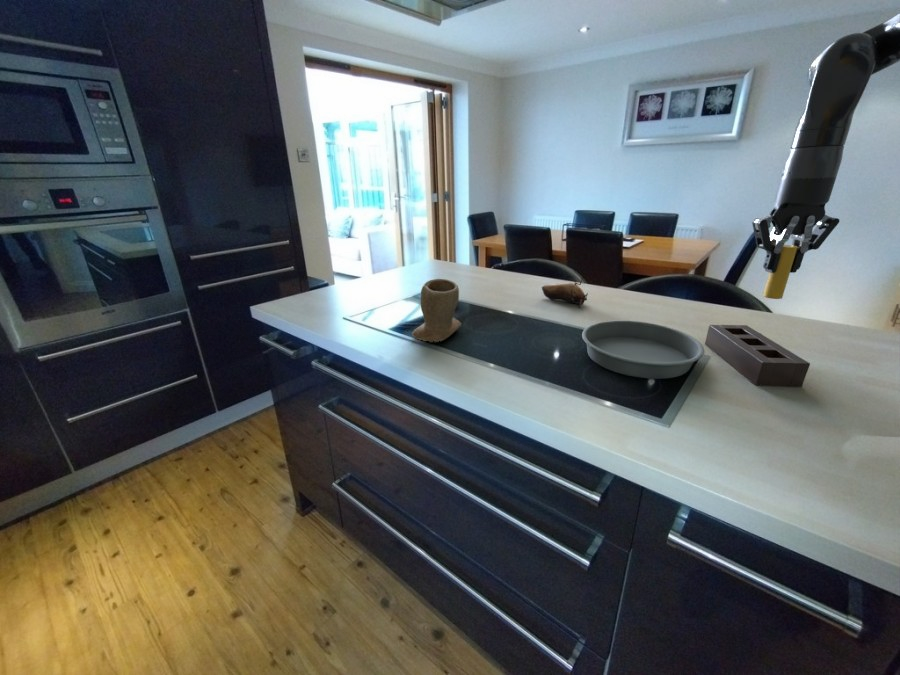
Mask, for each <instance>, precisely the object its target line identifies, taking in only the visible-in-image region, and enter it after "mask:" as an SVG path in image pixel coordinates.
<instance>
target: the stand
mask: <svg viewBox="0 0 900 675" xmlns="http://www.w3.org/2000/svg"><path fill="white" fill-rule="evenodd" d="M706 333H707V334H706V337H705V341H704V345H705V346H706V347H707V348H709V349H710V350H711V351H713V352H714V353H715V354H716V355H717V356H718V357H720V359H723V360H724V362H726V363H727V364H728V365H729V366H730V367H732V368H734V370H736V371H737V372H738V373H739V374H741V375H742V376H743V377H744V378H746V379H747V380H748V381H749V382H751V383H752V384H753V385H754V386H757V387H758V386H761V387H763V386H764V387H768V386H769V387H793V388H794V387H796V388H799V387H800V388H802V387H803V385H804V382H805V379H806V376H807V374H808V371H809V369H810V366H811V363H810V362H809V361H807V360H805V359H803V358H802V357H800V356H798V355H797V354H795V353H793V352H792V351H790V350H788V349H787V348H785V347H783V346H782V345H780V344H779V343H777V342H775V341H773V340H772V339H771V338H769V337H767V336H765V335H763V334H762V333H760V332H759V331H757V330H755V329H754V328H752V327H750V326H748V325H747V324H709V325H708V329H707V332H706Z"/></svg>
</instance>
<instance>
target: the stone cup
mask: <svg viewBox="0 0 900 675" xmlns="http://www.w3.org/2000/svg"><path fill="white" fill-rule="evenodd" d="M419 298H420V310H421V312H422V316H423V321H424V323H422V324H421V325H419V326H418V327H417V328H415V329H414V330H413V331H412V333H411V336H412V338H414V339H416V340H418V339H419V340H418V341H421V340H423V341H422V342H426V341H429V342H428V343H439V341H440V342H442V341H445V340H447V339H448V338H449V337H450V336H452V335H453V334H454V333H455V332H456V331H457V330H458V329H459V328H460V327H461V326H462V322H460V320H458V319H456V318H455V317H454V316H455V312H456V309H457V306H458V303H459V299H460V288H459V285H458V284H457V283H456V282H454V281H452V280H449V279H446V278H433V279H429V280H428V281H425V283H423V285H422V287H421V290H420V297H419ZM433 341H434V342H433Z"/></svg>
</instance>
